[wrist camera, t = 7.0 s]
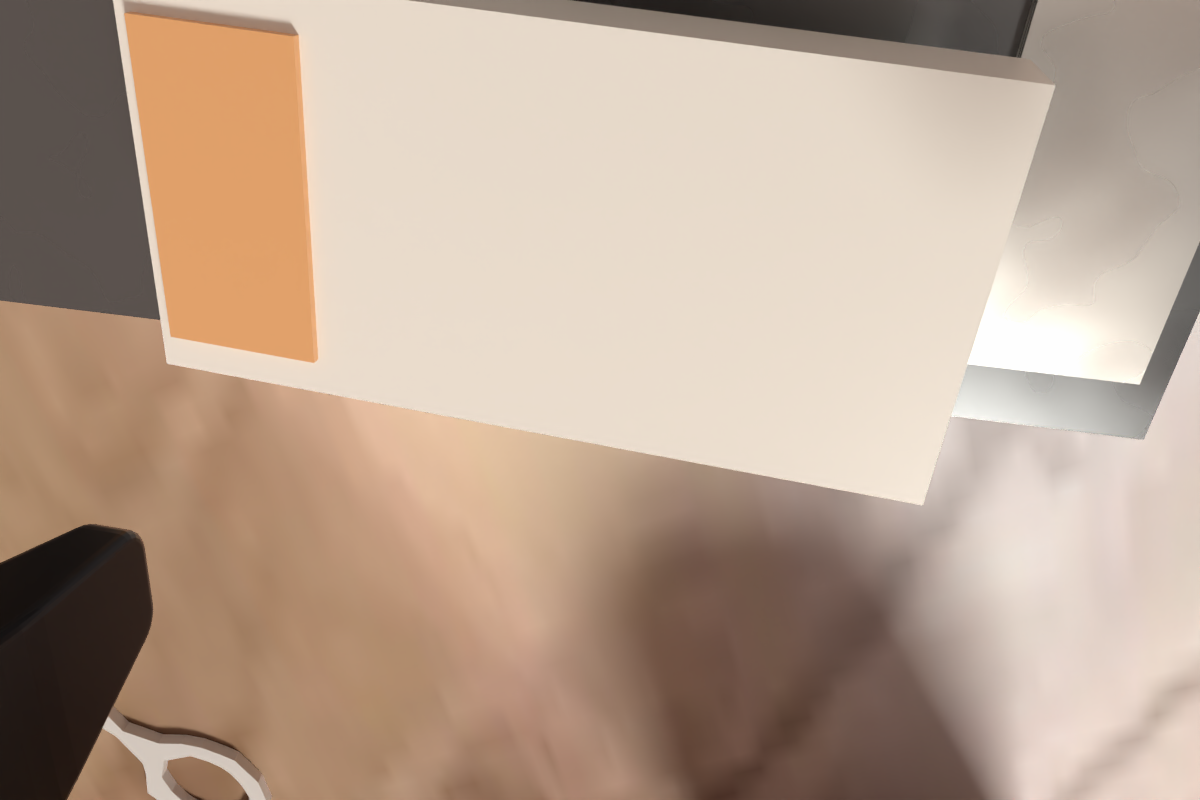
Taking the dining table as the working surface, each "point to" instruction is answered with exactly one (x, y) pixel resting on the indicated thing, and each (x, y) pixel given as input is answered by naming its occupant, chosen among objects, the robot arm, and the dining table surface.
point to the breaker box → (813, 3)
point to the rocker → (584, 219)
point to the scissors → (165, 747)
